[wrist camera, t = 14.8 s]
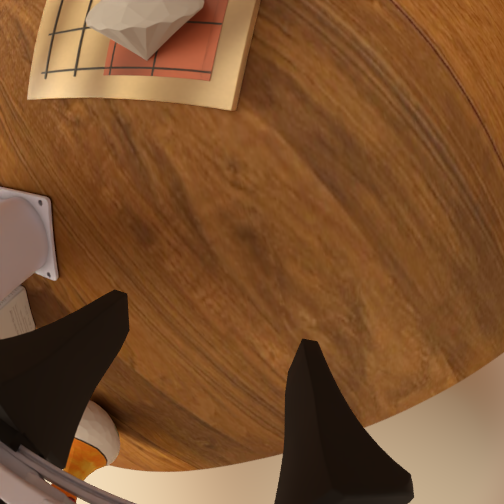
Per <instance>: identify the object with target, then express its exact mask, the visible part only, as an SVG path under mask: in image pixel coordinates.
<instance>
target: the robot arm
mask: <svg viewBox="0 0 504 504" xmlns="http://www.w3.org/2000/svg"><path fill="white" fill-rule="evenodd" d="M41 201H42V202H41ZM33 273H36V274H39V275H41V276H44V277H46V278H48V279H51V280H54V281H56V280H57V279H58V269H57V262H56V255H55V246H54V237H53V226H52V213H51V201H50V199H49V198H48V197H46V196H41V195H37V194H32V193H28V192H23V191H18V190H14V189H9V188H5V187H0V302H1V301H2V300H3V299H4V298H5V297H7V296H8V295H9V294H10V293H11V292H12V291H13V290H14V289H16V288H17V287H18V286H19V285H20V284H21V283H23V282H24V281H25V280H26V279H27V278H29V277H30V276H31V275H32V274H33ZM128 332H129V317H128V299H127V293H124V292H121V291H117V290H113V291H111V292H109V293H107V294H106V295H104V296H102V297H100V298H99V299H97V300H95V301H93V302H92V303H90V304H88V305H86V306H84V307H83V308H81V309H79V310H77V311H75V312H73V313H71V314H69V315H67V316H65V317H64V318H62V319H60V320H58V321H55V322H53V323H51V324H49V325H46V326H44V327H41V328H39V329H36V330H33V331H30V332H27V333H24V334H20V335H17V336H14V337H10V338H5V339H0V499H2V500H3V501H4V502H5V503H7V504H76V503H75V502H73V501H72V500H71V499H69V498H68V497H67V496H66V495H65V494H64V493H63V492H61V491H60V490H58V489H56V488H55V487H53V486H52V485H50V484H49V483H47V482H46V481H45V480H44V479H46V480H47V481H49V482H51V483H53V484H54V485H56V486H58V487H59V488H61V489H63V490H65V491H67V492H68V493H70V494H72V495H74V496H76V497H78V498H80V499H82V500H84V501H86V502H88V503H90V504H135V503H133V502H130V501H128V500H125V499H122V498H120V497H117V496H115V495H112V494H110V493H108V492H106V491H103V490H101V489H99V488H97V487H95V486H92V485H90V484H88V483H86V482H84V481H82V480H80V479H78V478H76V477H74V476H72V475H71V474H69V473H67V472H65V471H63V470H62V469H64V468H66V464H67V460H68V457H69V453H70V450H71V446H72V443H73V440H74V437H75V434H76V431H77V428H78V426H79V423H80V421H81V418H82V416H83V413H84V411H85V409H86V407H87V404H88V402H89V400H90V398H91V396H92V394H93V392H94V390H95V388H96V386H97V385H98V383H99V382H100V380H101V379H102V377H103V376H104V374H105V372H106V371H107V369H108V368H109V366H110V365H111V363H112V362H113V360H114V358H115V357H116V355H117V354H118V352H119V351H120V349H121V347H122V345H123V343H124V341H125V339H126V336H127V334H128ZM413 498H414V493H413V483H412V479H411V474H410V473H408V472H407V471H406V470H405V469H403V468H402V467H401V466H400V465H399V464H397V463H396V462H395V461H394V460H393V459H392V458H391V457H390V456H389V455H387V454H386V452H385V451H383V450H382V448H380V446H379V445H378V444H377V443H376V442H375V441H374V440H373V439H372V437H371V436H370V435H369V434H368V433H367V431H366V430H365V429H364V428H363V426H362V425H361V424H360V422H359V421H358V419H357V418H356V416H355V415H354V414H353V412H352V410H351V409H350V407H349V406H348V404H347V402H346V401H345V399H344V397H343V395H342V393H341V392H340V390H339V388H338V386H337V384H336V382H335V380H334V378H333V376H332V374H331V371H330V369H329V367H328V365H327V363H326V360H325V358H324V356H323V353H322V351H321V348H320V346H319V344H318V342H317V341H313V340H307V339H302V341H301V343H300V345H299V348H298V350H297V353H296V355H295V357H294V360H293V362H292V364H291V366H290V369H289V371H288V377H287V384H286V391H285V438H284V451H283V458H282V465H281V471H280V477H279V483H278V488H277V493H276V499H275V503H274V504H408V503H409V502H410V501H411V500H412V499H413Z"/></svg>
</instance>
